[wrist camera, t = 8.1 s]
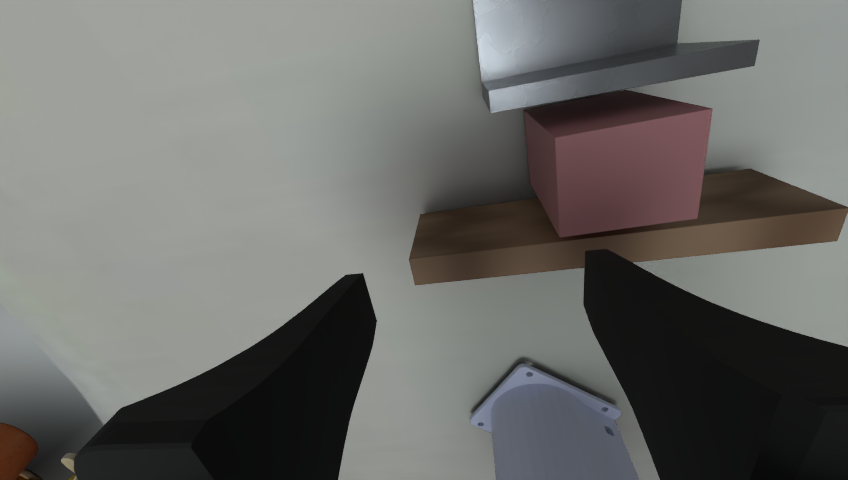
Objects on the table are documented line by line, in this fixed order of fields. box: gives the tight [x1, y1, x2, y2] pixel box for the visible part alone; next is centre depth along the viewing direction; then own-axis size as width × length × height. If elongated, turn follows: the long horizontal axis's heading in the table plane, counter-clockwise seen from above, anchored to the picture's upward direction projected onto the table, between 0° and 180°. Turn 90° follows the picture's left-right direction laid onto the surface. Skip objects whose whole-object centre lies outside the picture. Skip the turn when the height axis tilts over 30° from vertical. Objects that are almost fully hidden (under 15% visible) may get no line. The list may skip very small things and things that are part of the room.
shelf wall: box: [409, 169, 848, 285], centre depth 18 cm, size 18×2×6 cm, turn 101°
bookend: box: [473, 0, 759, 113], centre depth 14 cm, size 9×5×6 cm, turn 101°
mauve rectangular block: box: [524, 90, 712, 237], centre depth 16 cm, size 5×4×7 cm
